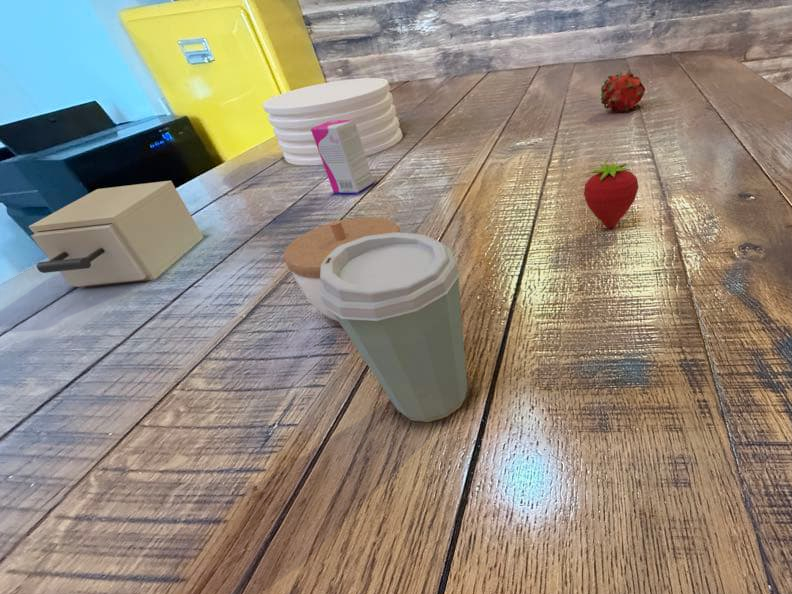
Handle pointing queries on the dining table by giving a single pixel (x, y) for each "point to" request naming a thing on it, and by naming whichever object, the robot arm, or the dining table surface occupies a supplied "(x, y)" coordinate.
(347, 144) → the supplement box
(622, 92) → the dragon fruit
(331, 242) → the lidded bowl
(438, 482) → the dining table surface
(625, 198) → the strawberry
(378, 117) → the plate stack
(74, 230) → the drawer
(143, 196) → the cabinet
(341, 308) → the disposable coffee cup
